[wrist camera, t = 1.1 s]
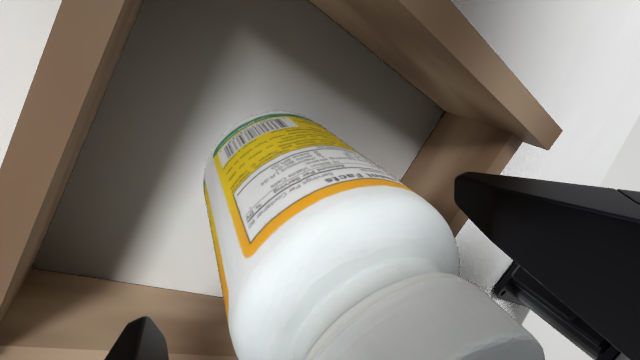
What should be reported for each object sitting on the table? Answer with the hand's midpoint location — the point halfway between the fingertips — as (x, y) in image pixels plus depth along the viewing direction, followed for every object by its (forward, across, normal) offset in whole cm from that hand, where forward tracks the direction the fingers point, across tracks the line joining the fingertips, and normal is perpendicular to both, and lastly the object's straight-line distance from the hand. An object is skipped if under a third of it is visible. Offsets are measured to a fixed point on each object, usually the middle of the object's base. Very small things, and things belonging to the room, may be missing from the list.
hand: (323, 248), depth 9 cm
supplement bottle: (+5, 0, 0) cm, 5 cm away
